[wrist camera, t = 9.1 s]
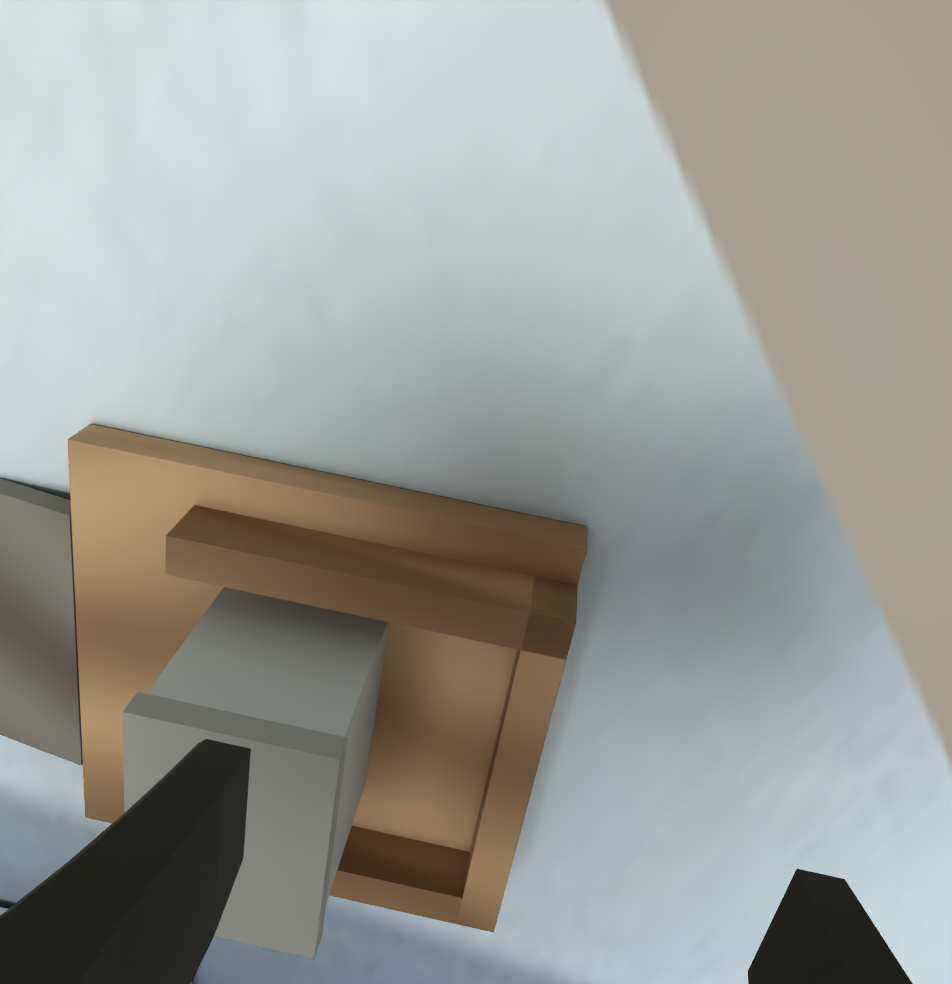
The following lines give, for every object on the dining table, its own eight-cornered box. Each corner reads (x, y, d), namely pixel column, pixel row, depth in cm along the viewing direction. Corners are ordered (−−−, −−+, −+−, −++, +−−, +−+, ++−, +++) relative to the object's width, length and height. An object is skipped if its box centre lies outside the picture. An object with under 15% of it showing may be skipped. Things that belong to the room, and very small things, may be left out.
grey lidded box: (367, 789, 23) (313, 959, 19) (215, 756, 23) (126, 916, 19) (394, 611, 21) (339, 759, 16) (223, 575, 21) (122, 712, 16)
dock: (498, 863, 26) (487, 956, 23) (-77, 735, 27) (-155, 811, 24) (587, 515, 21) (586, 583, 18) (-134, 366, 21) (-242, 408, 19)
